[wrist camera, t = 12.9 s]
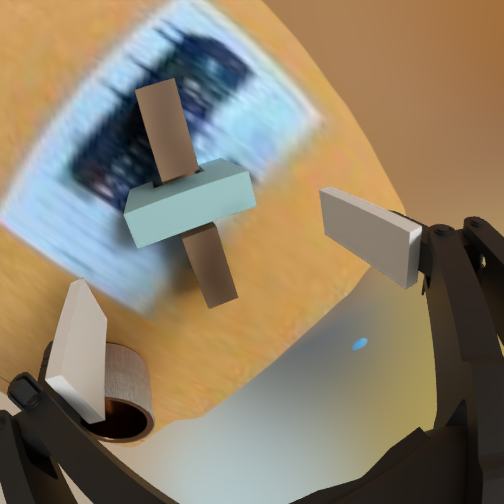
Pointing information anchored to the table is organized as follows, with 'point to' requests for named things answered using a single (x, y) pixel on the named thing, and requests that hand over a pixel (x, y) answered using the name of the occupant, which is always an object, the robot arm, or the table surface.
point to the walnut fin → (177, 167)
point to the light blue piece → (187, 202)
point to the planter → (124, 398)
